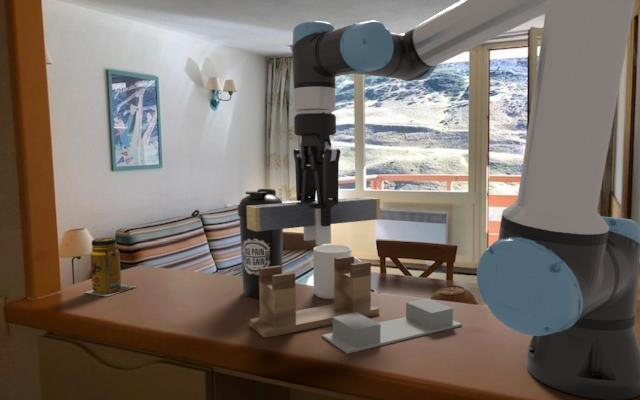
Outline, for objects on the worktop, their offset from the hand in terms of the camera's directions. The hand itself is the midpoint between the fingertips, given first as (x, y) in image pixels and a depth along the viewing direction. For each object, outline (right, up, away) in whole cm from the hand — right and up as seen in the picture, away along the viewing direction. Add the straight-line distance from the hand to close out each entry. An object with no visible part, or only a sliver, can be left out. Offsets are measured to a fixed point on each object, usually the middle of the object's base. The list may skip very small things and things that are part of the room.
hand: (317, 241), depth 94 cm
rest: (+14, -15, -4) cm, 21 cm away
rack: (0, -15, +2) cm, 15 cm away
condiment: (-47, -13, +22) cm, 54 cm away
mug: (+5, -13, +17) cm, 22 cm away
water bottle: (-12, -13, +19) cm, 26 cm away
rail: (0, +3, 0) cm, 3 cm away
